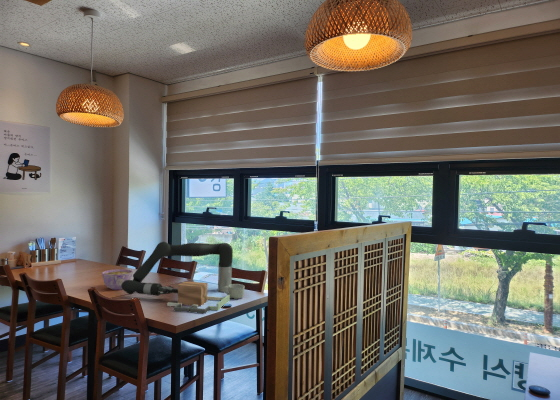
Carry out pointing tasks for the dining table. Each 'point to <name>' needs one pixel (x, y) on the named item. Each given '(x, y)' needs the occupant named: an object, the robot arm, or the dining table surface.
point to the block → (192, 293)
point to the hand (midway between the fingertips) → (178, 291)
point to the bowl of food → (116, 278)
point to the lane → (195, 308)
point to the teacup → (235, 290)
